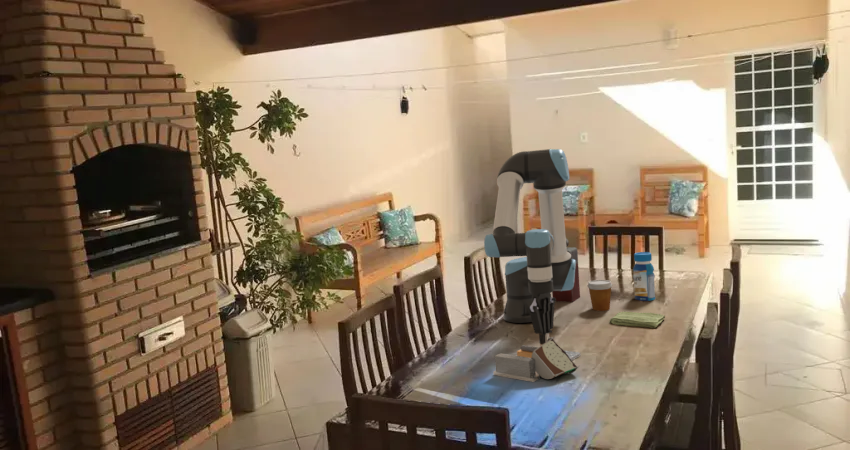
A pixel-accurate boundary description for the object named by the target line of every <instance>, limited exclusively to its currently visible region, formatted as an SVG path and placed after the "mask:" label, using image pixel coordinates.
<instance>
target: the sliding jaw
mask: <svg viewBox="0 0 850 450" xmlns="http://www.w3.org/2000/svg"><path fill="white" fill-rule="evenodd" d="M537 348H539V347H538V346H530V345H529V346H528V345H521V346H520V349H519V350H516V356H522V357H528V358H532V353H533V351H534V350H536V349H537Z"/></svg>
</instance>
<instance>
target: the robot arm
mask: <svg viewBox="0 0 850 450" xmlns="http://www.w3.org/2000/svg"><path fill="white" fill-rule="evenodd" d="M565 153H566V152H565V151H564V150H562V149H561V148H560V149H559V148H557V149H556V148H555V149H554V148H552V149H551V148H549V149H538V150H527V151H525V150H524V151H519V152H516V153H515V154H513V155H512V156H510V157H509V158H508V159H507V160H506V161H505V162H504V163H503V164H502V166H501V167H500V169H499V170H498V173H497V179H496V184H497V187H498V191H497V198H496V205H495V206H496V207H495V214H494V221H493V227H492V233H490V234H489V233H488V234H486V235H485V237H484V241H483V243H484V245H483V246H484V253H485V255H486V256H487V258H488V257H489V258H508V257H509V258H510V257H511V258H512V257H517V258H514V259H511V260H508V261H507V262H506V263H505V265H504V276H505V277H504V279H505V289H506V302H505V305H504V306H505V307H504V311H503V320H504V321H506V322H509V323H515V324H516V323H517V324H518V323H519V324H522V323H525V324H527V323H532V327H533V332H534V334H537V335H539V347H540V346H541V345H543V344H544V343H546V342H547V340H548V338H550V334H552V333H553V328H554V321H555V319H554V318H555V305H556V302H557V301H556V298H553V297H552V292H553V291H565V290H571V289H572V288H573V287H574V279H575V266H576V260H574V259H571V254H570V253H569V252H567V248H568V247H567V248H566V239H567V237H566V226H565V212H564V211H565V210H564V200H563V199H564V198H563V197H564V196H563V190H564V188H565V187H566V186H567V182H568V181H570V171H569V170H570V169H569V164H568V160H567V157H566V154H565ZM524 184H533V189H534V190H535V191H536V192H538V205H539V217H540V228H537V229H530V230H527V231H525V232H519V233H518V232H516V231H517V222H518V213H519V203H520V202H519V201H520V196H521V195H520V194H521V190H522V188H524ZM518 257H519V258H518Z"/></svg>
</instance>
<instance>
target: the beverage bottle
mask: <svg viewBox="0 0 850 450" xmlns="http://www.w3.org/2000/svg"><path fill="white" fill-rule="evenodd" d="M652 256H653V255H652V253H651V252H649V251H641V252H635V253H634V254H633V258H634V263H635V264H634V266H633V268H632V271H633V274H632V279H633V287H634V288H633V289H634V300H637V301H640V302H641V301H643V302H649V301H654V300H656V294H655V293H656V292H655V291H656V290H655V278H656V277H655V276H656V275H655V273H654V272H655V268H654V265H653V264H652V260H653V257H652Z"/></svg>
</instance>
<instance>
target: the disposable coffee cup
mask: <svg viewBox="0 0 850 450" xmlns="http://www.w3.org/2000/svg"><path fill="white" fill-rule="evenodd" d="M612 287H613V284H612V282H611V280H607V279H595V280H590V281H588V282H587V288H588V293H589V297H590V303H591V309H592V310H593V311H597V312H603V311H604V312H605V311H609V310H610V308H611V298H612V297H611V296H612Z"/></svg>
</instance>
